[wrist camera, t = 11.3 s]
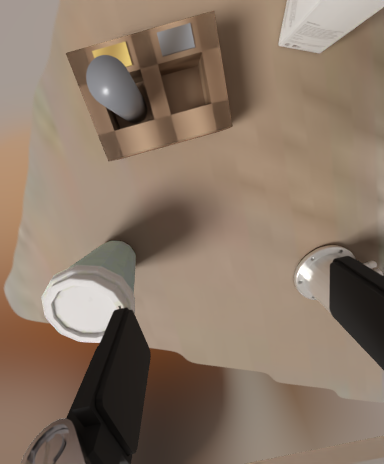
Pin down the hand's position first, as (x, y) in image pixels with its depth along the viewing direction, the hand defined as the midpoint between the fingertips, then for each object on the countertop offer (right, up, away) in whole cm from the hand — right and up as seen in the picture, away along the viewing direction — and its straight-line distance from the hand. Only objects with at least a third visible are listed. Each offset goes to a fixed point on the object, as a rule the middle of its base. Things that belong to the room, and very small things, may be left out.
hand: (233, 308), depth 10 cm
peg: (-10, +20, +17) cm, 28 cm away
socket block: (-7, +22, +19) cm, 30 cm away
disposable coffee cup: (-16, 0, +27) cm, 32 cm away
